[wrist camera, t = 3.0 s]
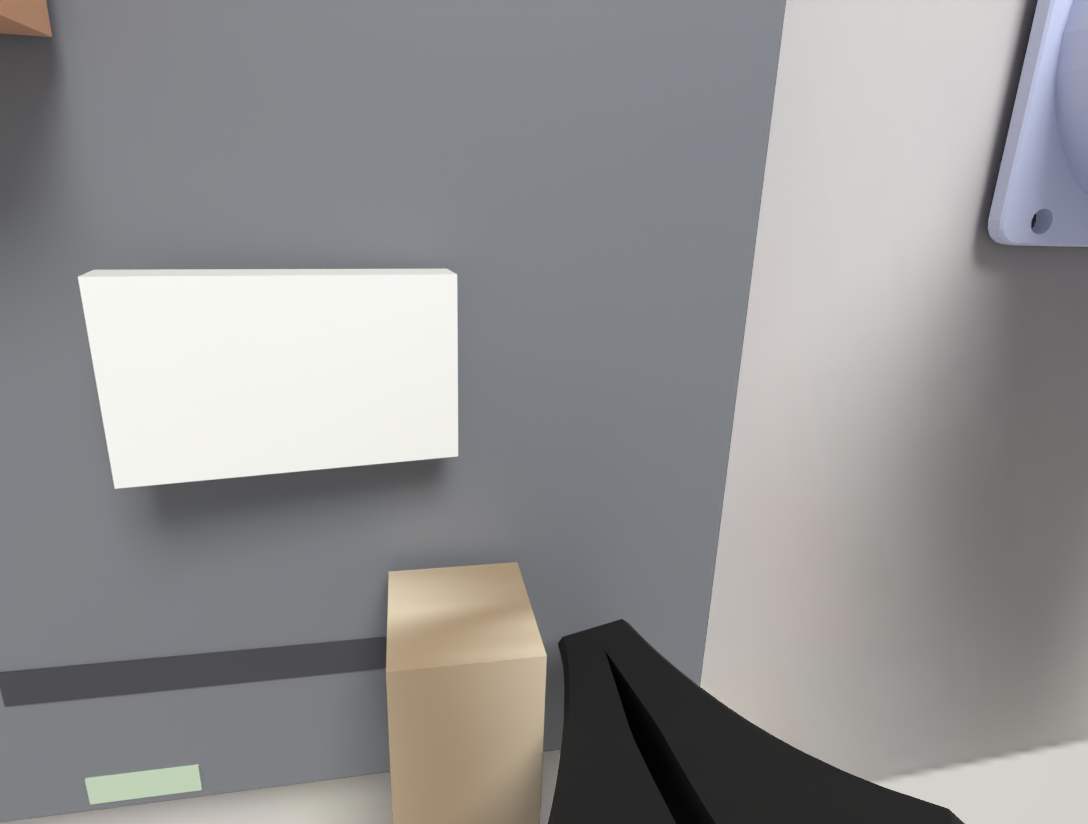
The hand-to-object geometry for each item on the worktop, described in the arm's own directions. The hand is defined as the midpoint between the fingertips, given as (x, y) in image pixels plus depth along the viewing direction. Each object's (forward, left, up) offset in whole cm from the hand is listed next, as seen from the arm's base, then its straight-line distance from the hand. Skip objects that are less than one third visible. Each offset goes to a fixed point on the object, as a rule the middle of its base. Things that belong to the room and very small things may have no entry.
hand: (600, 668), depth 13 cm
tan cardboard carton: (+3, 0, -1) cm, 3 cm away
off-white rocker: (+5, -6, 0) cm, 8 cm away
